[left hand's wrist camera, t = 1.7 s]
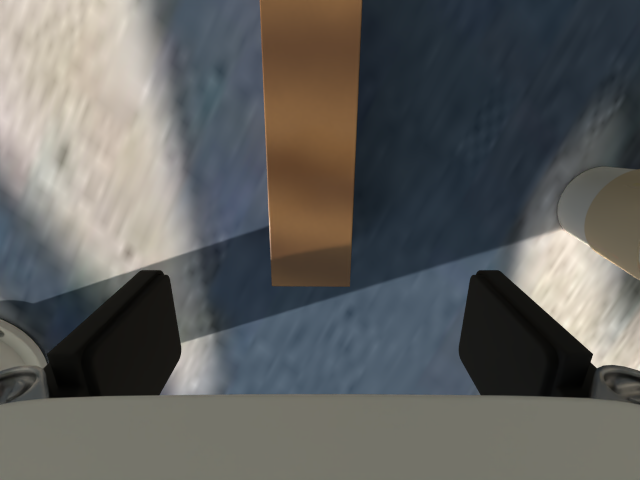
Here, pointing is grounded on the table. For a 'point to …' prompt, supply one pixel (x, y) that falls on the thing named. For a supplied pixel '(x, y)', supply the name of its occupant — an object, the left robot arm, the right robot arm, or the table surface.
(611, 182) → the coffee cup
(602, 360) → the table surface
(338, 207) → the bar
